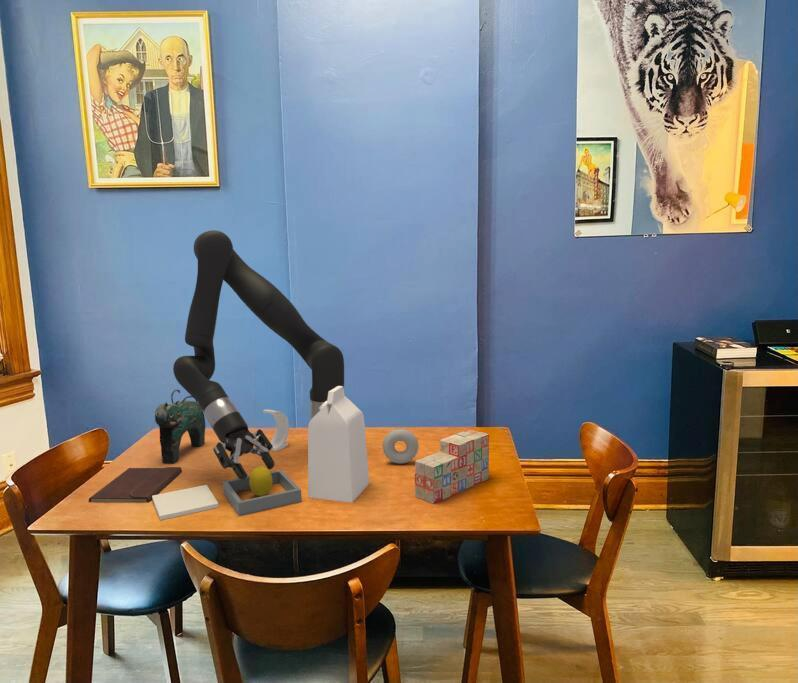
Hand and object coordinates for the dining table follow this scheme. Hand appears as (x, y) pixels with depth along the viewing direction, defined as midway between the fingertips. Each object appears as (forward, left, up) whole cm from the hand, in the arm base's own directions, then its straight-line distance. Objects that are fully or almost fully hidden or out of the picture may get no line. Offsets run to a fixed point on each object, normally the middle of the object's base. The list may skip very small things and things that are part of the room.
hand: (258, 472), depth 149 cm
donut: (-40, -2, -6) cm, 41 cm away
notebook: (+25, -23, -7) cm, 35 cm away
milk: (-18, +6, -6) cm, 20 cm away
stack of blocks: (-43, +20, -7) cm, 48 cm away
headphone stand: (-15, -34, -6) cm, 37 cm away
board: (+17, -6, -6) cm, 19 cm away
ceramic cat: (+11, -43, -6) cm, 44 cm away
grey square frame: (0, 0, -6) cm, 6 cm away
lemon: (0, 0, -6) cm, 6 cm away
